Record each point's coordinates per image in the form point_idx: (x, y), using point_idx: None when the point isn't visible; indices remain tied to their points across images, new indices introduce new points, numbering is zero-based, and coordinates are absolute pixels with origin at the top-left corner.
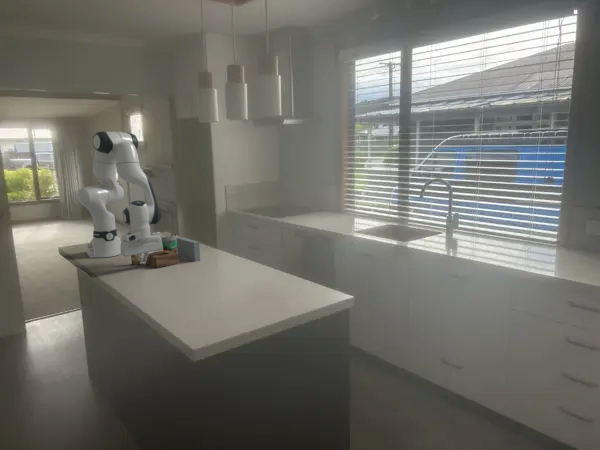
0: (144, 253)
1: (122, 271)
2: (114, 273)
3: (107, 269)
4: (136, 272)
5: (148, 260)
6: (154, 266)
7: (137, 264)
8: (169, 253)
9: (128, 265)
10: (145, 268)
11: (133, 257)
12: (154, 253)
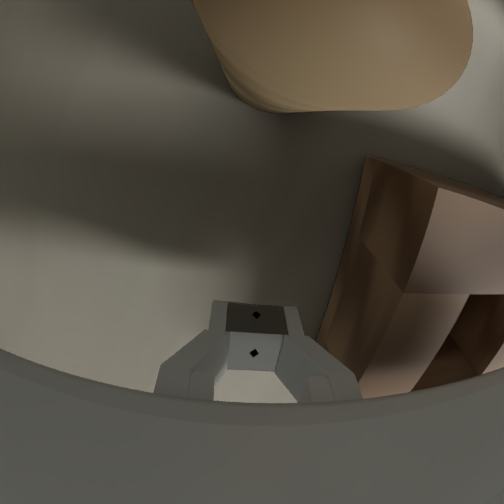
0: (304, 397)
1: (53, 224)
2: (5, 229)
3: (5, 60)
4: (134, 339)
5: (370, 246)
6: (319, 335)
7: (270, 112)
8: (487, 369)
9: (191, 34)
10: (247, 302)
11: (227, 76)
12: (488, 273)
